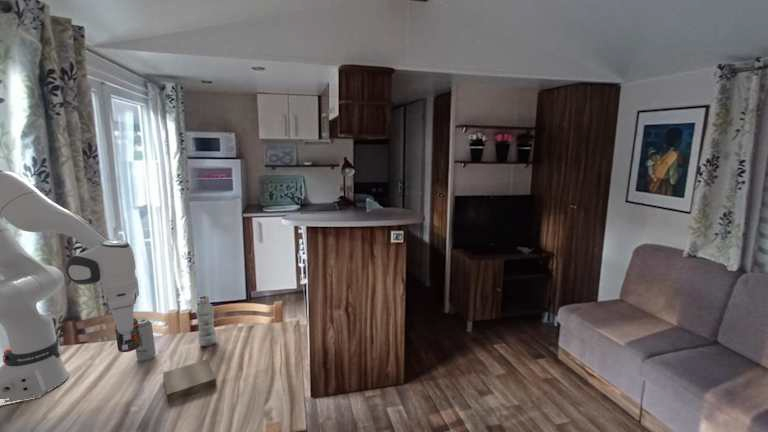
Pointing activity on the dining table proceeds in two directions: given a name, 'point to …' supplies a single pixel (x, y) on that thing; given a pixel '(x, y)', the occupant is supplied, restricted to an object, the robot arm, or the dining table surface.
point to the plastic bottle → (206, 322)
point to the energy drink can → (145, 340)
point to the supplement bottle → (131, 343)
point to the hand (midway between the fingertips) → (127, 334)
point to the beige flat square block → (188, 380)
